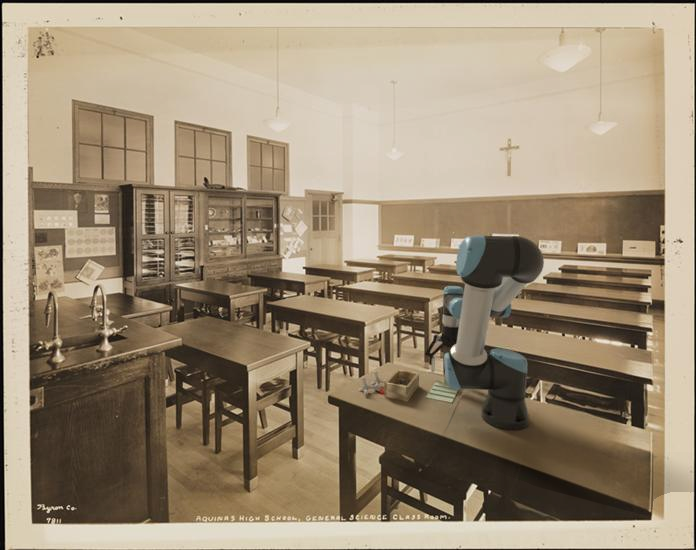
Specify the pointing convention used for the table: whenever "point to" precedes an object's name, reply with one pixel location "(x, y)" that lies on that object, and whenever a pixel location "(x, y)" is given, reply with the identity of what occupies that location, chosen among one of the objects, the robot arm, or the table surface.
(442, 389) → the ridged block with tab
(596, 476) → the table surface
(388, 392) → the tub
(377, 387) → the molecular model
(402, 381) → the rubber stopper
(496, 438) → the table surface
